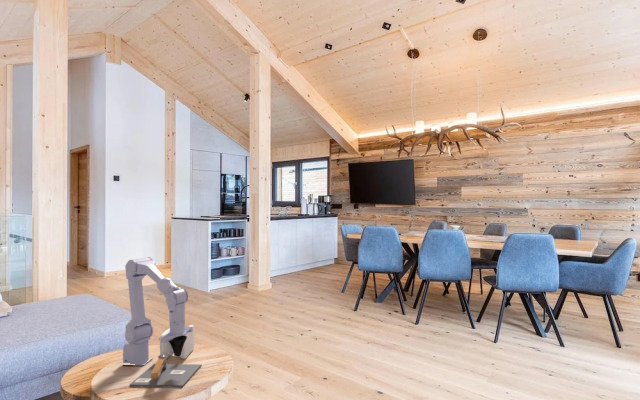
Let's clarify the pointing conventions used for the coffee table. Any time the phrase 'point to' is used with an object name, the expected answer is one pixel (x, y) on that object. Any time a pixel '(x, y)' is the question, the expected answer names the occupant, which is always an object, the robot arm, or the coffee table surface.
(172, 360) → the coffee table surface
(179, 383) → the panel
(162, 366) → the bar
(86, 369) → the coffee table surface
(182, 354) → the white notched block
